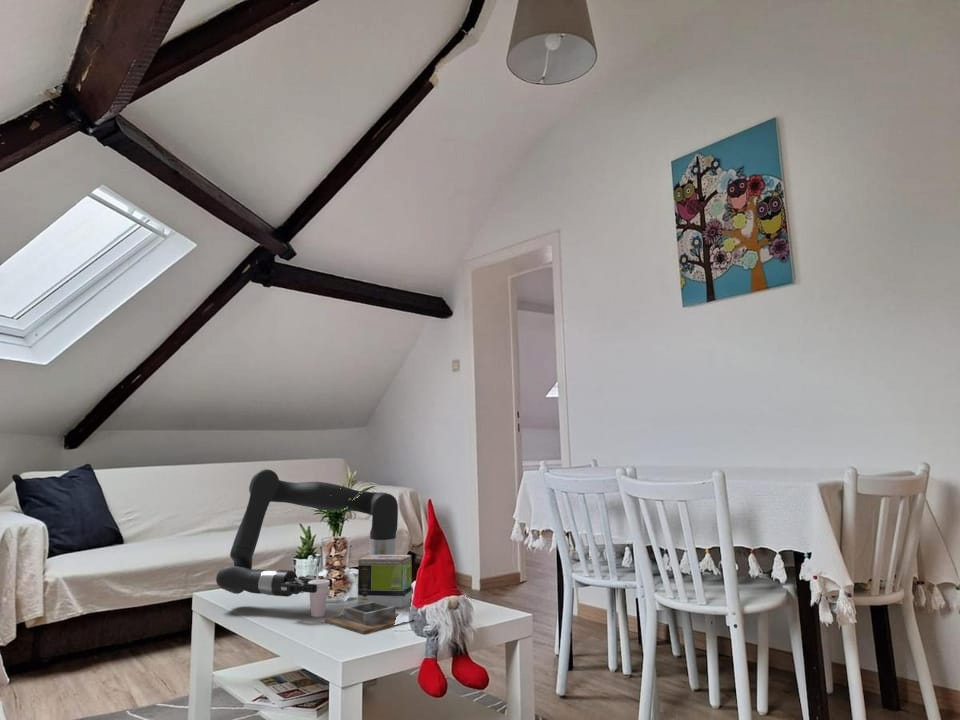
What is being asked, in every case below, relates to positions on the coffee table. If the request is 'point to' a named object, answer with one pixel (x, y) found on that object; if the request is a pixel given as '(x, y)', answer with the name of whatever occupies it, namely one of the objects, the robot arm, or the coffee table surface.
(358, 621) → the collar stand
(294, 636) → the coffee table surface
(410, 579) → the tea box
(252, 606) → the coffee table surface
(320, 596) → the smoothie
